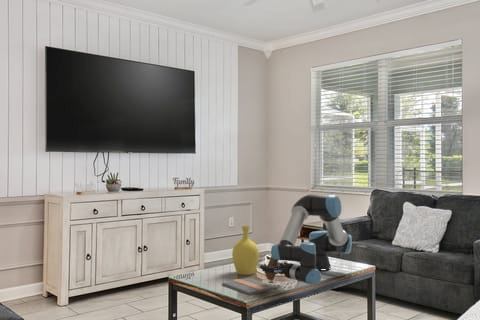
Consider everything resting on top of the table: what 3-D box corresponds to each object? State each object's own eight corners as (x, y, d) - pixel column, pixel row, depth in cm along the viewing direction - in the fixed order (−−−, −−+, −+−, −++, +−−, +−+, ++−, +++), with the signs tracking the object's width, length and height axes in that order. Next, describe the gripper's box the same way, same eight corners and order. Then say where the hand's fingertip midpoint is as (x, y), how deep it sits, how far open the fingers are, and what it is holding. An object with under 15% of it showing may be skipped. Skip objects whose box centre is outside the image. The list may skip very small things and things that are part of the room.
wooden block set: (273, 285, 232) (281, 268, 230) (258, 278, 234) (266, 260, 233) (281, 276, 249) (288, 259, 247) (267, 269, 251) (274, 252, 250)
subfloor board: (248, 279, 256) (248, 277, 256) (276, 288, 237) (276, 286, 237) (222, 284, 246) (222, 282, 246) (249, 294, 226) (249, 291, 226)
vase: (227, 274, 270) (227, 226, 270) (240, 268, 284) (240, 223, 284) (251, 277, 262) (251, 228, 263) (263, 271, 276) (263, 225, 277)
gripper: (277, 282, 221) (249, 273, 239) (309, 276, 234) (279, 268, 252) (277, 267, 221) (249, 259, 239) (309, 261, 234) (279, 254, 252)
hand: (264, 264), depth 245 cm, fingers open, 9 cm apart
